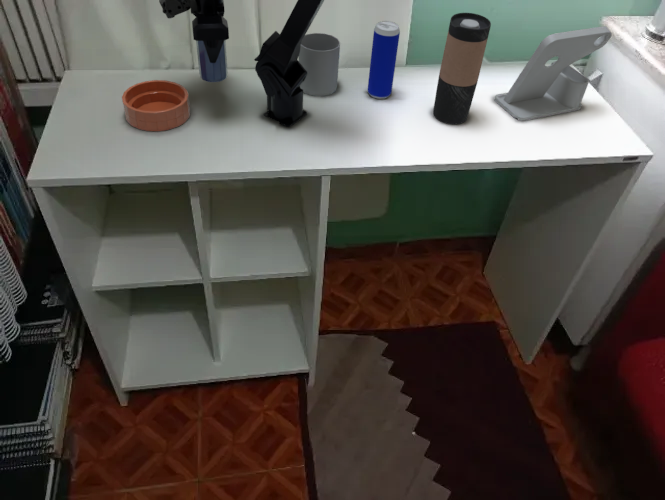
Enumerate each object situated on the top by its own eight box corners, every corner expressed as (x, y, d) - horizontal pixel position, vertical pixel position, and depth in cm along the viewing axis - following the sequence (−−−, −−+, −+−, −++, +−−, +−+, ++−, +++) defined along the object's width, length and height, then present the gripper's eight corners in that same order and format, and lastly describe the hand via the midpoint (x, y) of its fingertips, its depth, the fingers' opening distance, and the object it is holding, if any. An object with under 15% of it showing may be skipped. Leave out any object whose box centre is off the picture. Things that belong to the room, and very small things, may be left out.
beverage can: (395, 92, 132) (405, 25, 122) (383, 102, 129) (392, 33, 119) (374, 85, 134) (382, 17, 124) (362, 94, 131) (369, 26, 121)
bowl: (203, 114, 122) (201, 93, 119) (158, 141, 114) (154, 120, 111) (159, 93, 126) (156, 73, 123) (112, 118, 119) (108, 97, 115)
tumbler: (233, 74, 123) (230, 26, 116) (214, 85, 120) (210, 35, 113) (212, 66, 125) (208, 18, 118) (194, 76, 122) (189, 27, 115)
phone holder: (555, 86, 139) (583, 7, 126) (585, 109, 132) (617, 28, 120) (492, 98, 133) (513, 16, 121) (519, 122, 127) (545, 38, 114)
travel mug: (472, 111, 129) (496, 18, 115) (462, 129, 123) (485, 33, 110) (438, 102, 131) (457, 8, 117) (426, 118, 125) (445, 23, 112)
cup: (332, 98, 129) (335, 53, 122) (294, 92, 130) (295, 47, 123) (339, 79, 135) (343, 36, 128) (303, 74, 136) (304, 30, 129)
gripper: (158, -46, 114) (169, 35, 125) (157, -7, 101) (169, 80, 111) (219, -46, 116) (225, 34, 127) (226, -8, 103) (231, 78, 113)
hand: (212, 55), depth 119 cm, fingers closed on tumbler, 5 cm apart
